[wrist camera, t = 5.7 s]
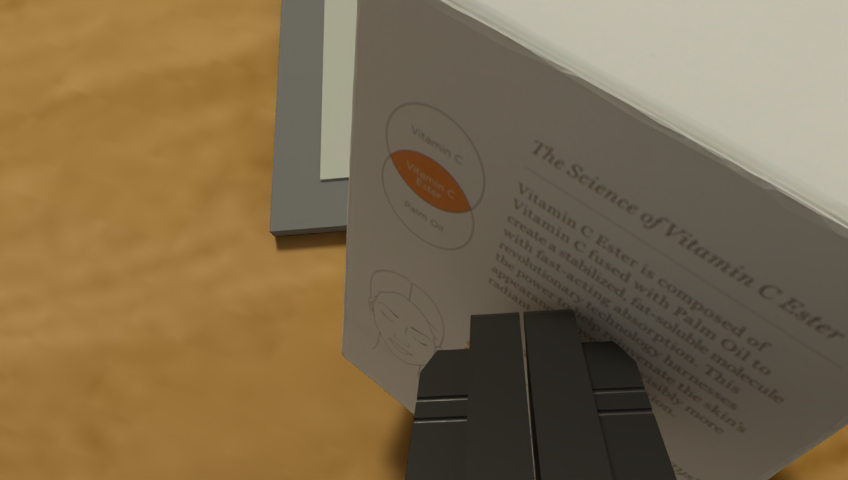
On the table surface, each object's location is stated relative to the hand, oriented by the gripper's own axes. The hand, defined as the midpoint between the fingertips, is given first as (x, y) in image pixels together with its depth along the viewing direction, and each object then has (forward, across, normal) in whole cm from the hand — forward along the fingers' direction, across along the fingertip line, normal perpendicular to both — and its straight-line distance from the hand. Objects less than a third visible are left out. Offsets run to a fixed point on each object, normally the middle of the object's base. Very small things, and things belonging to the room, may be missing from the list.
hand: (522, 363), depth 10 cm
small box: (+5, 0, +4) cm, 7 cm away
